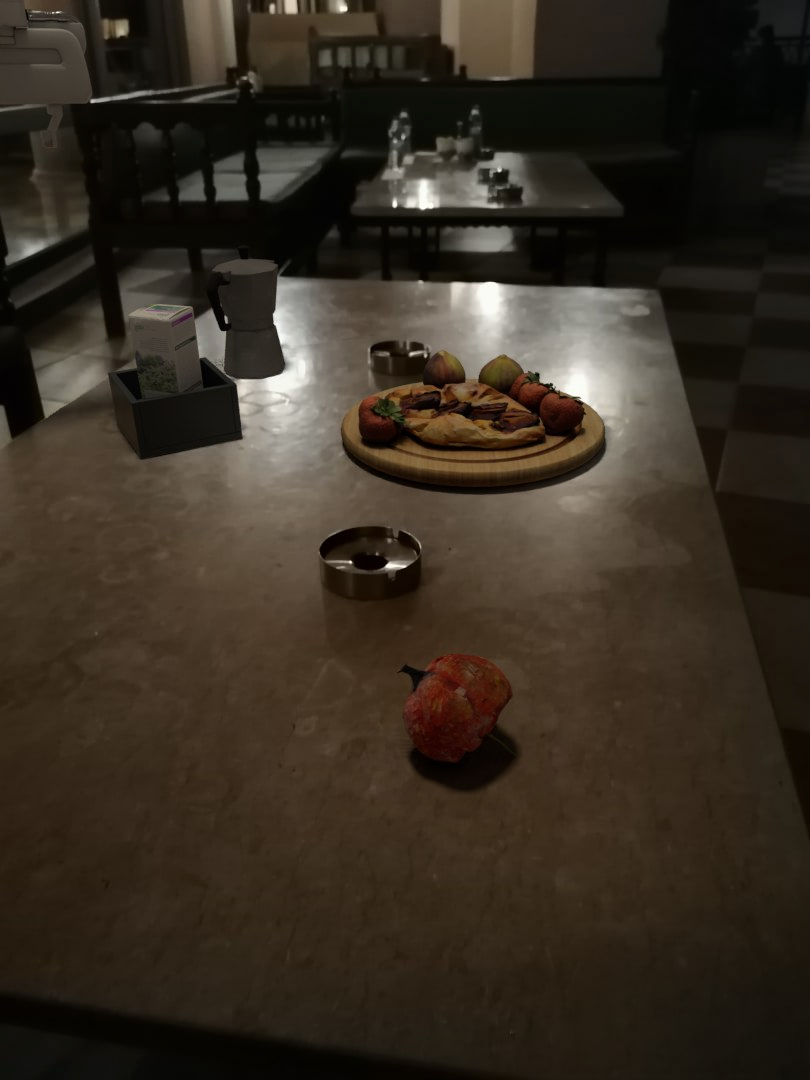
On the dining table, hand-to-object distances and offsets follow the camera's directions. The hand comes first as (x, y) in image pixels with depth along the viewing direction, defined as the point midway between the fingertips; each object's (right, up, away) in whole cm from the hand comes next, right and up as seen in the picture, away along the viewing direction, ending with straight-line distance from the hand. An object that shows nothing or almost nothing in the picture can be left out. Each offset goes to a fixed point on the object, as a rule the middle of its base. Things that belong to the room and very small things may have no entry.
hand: (6, 149), depth 103 cm
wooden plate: (+53, -32, +9) cm, 63 cm away
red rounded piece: (+49, -59, -40) cm, 86 cm away
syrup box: (+17, -30, +11) cm, 36 cm away
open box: (+17, -31, +12) cm, 37 cm away
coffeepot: (+22, -19, +32) cm, 44 cm away
